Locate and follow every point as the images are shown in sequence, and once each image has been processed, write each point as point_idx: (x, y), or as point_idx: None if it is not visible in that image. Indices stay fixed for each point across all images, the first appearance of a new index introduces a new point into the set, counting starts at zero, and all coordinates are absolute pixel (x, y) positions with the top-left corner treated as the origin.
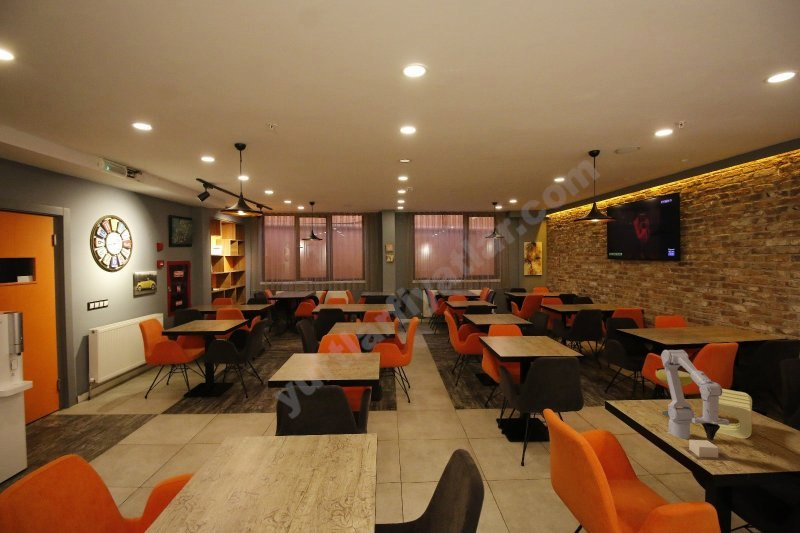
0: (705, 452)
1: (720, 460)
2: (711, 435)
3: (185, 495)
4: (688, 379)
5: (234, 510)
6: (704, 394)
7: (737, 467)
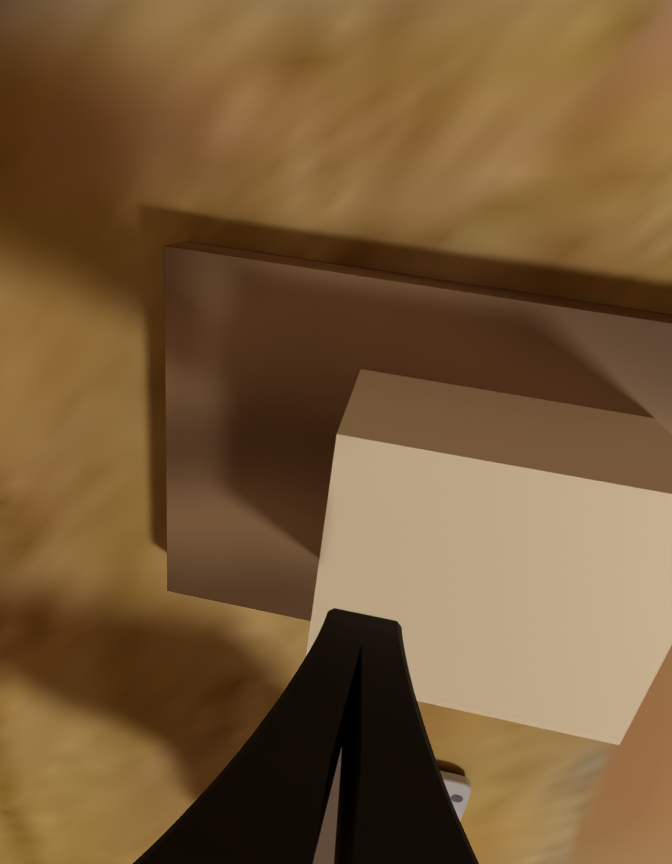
0: (574, 431)
1: (402, 281)
2: (383, 709)
3: None
4: None
5: None
6: None
7: (232, 151)
